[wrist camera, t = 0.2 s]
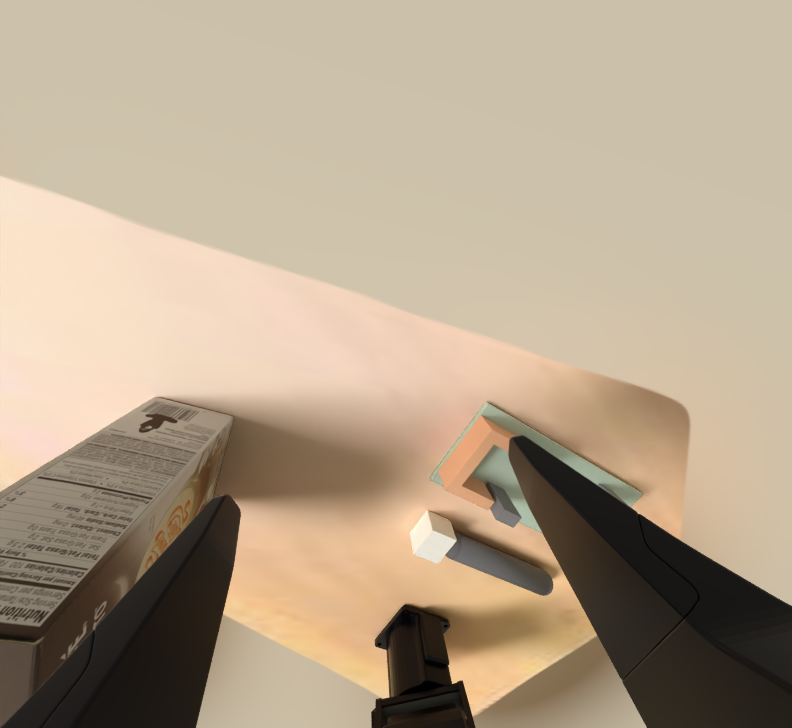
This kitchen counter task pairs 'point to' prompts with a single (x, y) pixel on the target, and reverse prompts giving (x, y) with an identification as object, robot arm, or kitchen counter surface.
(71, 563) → the coffee box
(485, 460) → the clip board
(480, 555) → the rod
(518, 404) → the kitchen counter surface
